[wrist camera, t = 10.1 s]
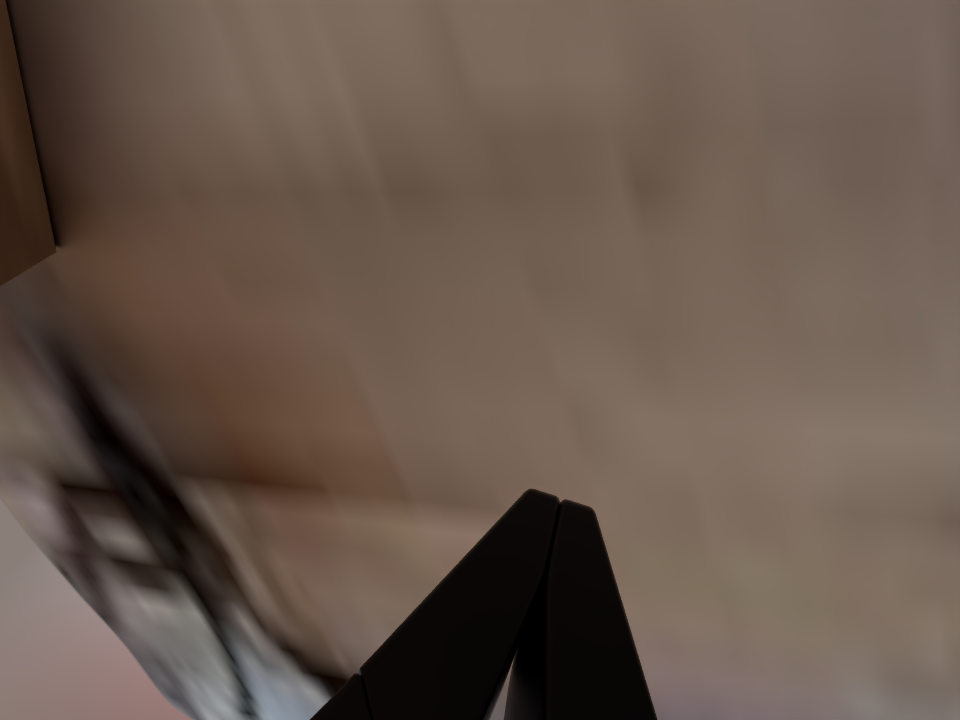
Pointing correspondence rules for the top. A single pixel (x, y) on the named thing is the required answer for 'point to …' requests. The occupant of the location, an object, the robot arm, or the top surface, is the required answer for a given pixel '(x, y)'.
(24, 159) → the walnut t block
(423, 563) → the top surface
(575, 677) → the robot arm
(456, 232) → the top surface
